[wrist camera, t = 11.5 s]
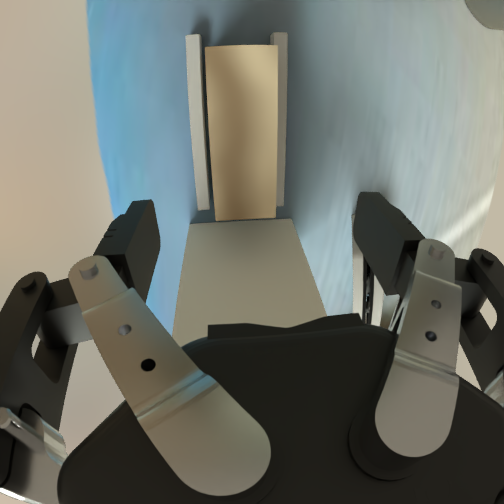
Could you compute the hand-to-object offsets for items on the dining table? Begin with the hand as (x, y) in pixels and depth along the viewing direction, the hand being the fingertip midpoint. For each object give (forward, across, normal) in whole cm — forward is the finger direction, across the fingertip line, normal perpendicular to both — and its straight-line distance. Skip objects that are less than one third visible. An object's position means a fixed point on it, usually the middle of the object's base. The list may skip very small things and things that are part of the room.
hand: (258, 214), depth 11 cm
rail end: (+21, 0, 0) cm, 21 cm away
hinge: (+21, -17, +20) cm, 33 cm away
